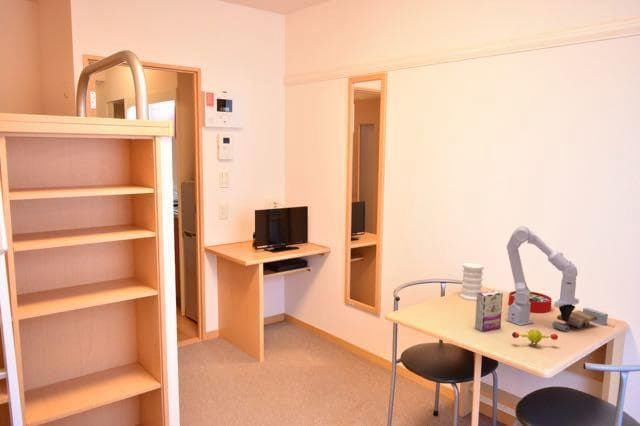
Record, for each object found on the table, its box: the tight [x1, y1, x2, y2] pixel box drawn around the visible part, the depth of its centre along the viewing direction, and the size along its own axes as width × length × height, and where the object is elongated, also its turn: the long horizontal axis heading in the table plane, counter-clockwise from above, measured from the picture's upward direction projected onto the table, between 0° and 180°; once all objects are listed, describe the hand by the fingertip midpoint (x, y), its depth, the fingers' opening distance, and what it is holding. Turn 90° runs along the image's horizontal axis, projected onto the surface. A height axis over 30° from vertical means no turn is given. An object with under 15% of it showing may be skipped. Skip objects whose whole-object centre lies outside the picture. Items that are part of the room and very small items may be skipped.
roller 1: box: [551, 321, 570, 333], centre depth 211 cm, size 3×6×3 cm
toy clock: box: [508, 290, 553, 314], centre depth 243 cm, size 20×6×20 cm
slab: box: [556, 310, 598, 325], centre depth 217 cm, size 16×9×2 cm, turn 119°
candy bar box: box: [474, 289, 504, 333], centre depth 209 cm, size 11×5×16 cm, turn 117°
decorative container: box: [459, 262, 485, 302], centre depth 255 cm, size 12×12×18 cm
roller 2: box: [565, 322, 583, 330], centre depth 216 cm, size 3×6×3 cm, turn 29°
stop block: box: [582, 307, 609, 326], centre depth 224 cm, size 3×10×5 cm, turn 29°
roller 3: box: [582, 321, 591, 328], centre depth 219 cm, size 3×6×3 cm, turn 29°
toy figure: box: [511, 328, 559, 347], centre depth 192 cm, size 18×6×7 cm, turn 88°
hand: (565, 320), depth 212 cm, fingers closed
